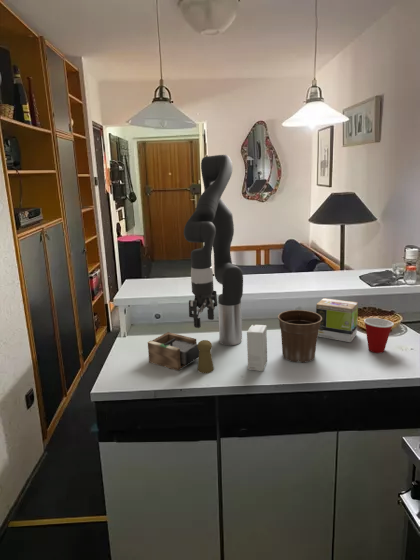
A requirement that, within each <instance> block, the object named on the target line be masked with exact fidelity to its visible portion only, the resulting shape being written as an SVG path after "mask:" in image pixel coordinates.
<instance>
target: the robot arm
mask: <svg viewBox="0 0 420 560" xmlns="http://www.w3.org/2000/svg"><path fill="white" fill-rule="evenodd" d="M200 162H201V163H200V171H201V177H202V182H203V186H204V187H203V188H204V191H203V192H202V193H201V195H200V196H199V198H198V201H197V204H196V207H195V211H193V213H192V214H191V216H190V217H189V219H188V220H187V221H186V223H185V225H184V228H183V236H184V239H185V240H186V241H187V242H189V243H196V244H197V243H198V244H200V243H203V247H200V248H196V249H193V250H191V252H190V266H191V267H190V280H191V283H190V284H191V293H192V294H193V295H194V298H193V299H192V300H191V299H190V300H188V317H189V318H192V319H193V326H194V328H196V329H200V328H201V324H202V323H201V315H202V313H203V312H204V309H206V308H207V319H208V320H211V321H213V320H214V319H215V312H214V311H215V308H216V307H217V306H218V330H219V331H218V332H219V336H218V337H219V339H218V340H219V343H220V344H222V345H224V346H235V345H236V346H237V345H239V344H241V343H242V339H243V318H242V298H243V294H244V291H243V290H244V274H243V271H242V269H241V267H239V266H237V265H235V264H233V261H232V255H231V245H232V242H233V239H234V233H235V232H234V231H235V228H234V227H235V224H234V218H233V213H232V211H231V209H230V208H229V207H228V205H227V204H226V202H225V201H224V200H223V199H222V196H223V194H224V191H225V190H226V188H227V186H228V184H229V181H230V179H231V177H232V174H233V161H232V159H231V157H230V156H229V155H228V154H218V155H217V154H215V155H209V156H208V155H207V156H204V157H202V158H201V161H200ZM212 251H213V252H212ZM212 253H213V261H212ZM212 262H213V263H212ZM212 265H214V266H212ZM214 278H215V280H216V281H217V283H219V284H220V285H222V291H221V294H219V296H218V294H217V291H216V290H215V289H214ZM217 296H218V297H217Z"/></svg>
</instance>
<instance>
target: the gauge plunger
mask: <svg viewBox="0 0 420 560" xmlns="http://www.w3.org/2000/svg"><path fill="white" fill-rule="evenodd" d="M175 340H176V338H174V339H172V340H170V341H168V342H167V343H165V344H164V345H165V346H166V345H168V344H169V343H170V344H169V346H173V347H177V348H180V362H181V364H184V365H186V366H188V365H190V364H191V363H193V362H194V361H196V360H197V359H199V350H198V343H197V344H194V343H190V342H186V341H182V340H176V341H175ZM173 341H174V342H173ZM172 342H173V343H172Z"/></svg>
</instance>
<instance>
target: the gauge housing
mask: <svg viewBox="0 0 420 560" xmlns="http://www.w3.org/2000/svg"><path fill="white" fill-rule="evenodd" d="M174 338H176V340H182V341H186V342H190V343H194V344H198V343H197V338H194V337H190V336H185V335H182V334H177V333H173V332H169V331H167V332H165V333H164V334H162V335H159V336H158V337H156V338H153V339H152V340H149V341H147V350H148V351H147V352H148V362H149V363H151V364H154V365H158V366H161V367H164V368H168V369H171V370H174V371H180V370H181V369H183V368H184V367H186V366H187V365H184V364H181V362H180V348H177V347H173V346H169V344H170V343H169V344H168V345H166V346H165V345H164V344H165V343H167V342H168V341H170V340H172V339H174ZM176 340H175V341H176ZM173 342H174V341H173ZM173 342H172V343H173Z"/></svg>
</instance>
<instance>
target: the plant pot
mask: <svg viewBox="0 0 420 560" xmlns="http://www.w3.org/2000/svg"><path fill="white" fill-rule="evenodd" d="M277 320H278V322H279V323H278V324H279V328H280V334H281V335H280V337H281V347H282V348H281V349H282V350H281V351H282V357H283V358H284V359H285V360H286V361H290V362H292V363H298V362H299V363H301V364H302V363H309V362H311V361H313V360H315V357H316V351H317V350H316V349H317V342H318V330H319V328H320V322H321V321H322V317H321V315H319V314H317V313H316V311H315V312H314V311H312V310H311V311H310V310H306V309H305V310H304V309H291V310H285V311H282V312H280V313H278V315H277Z"/></svg>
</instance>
